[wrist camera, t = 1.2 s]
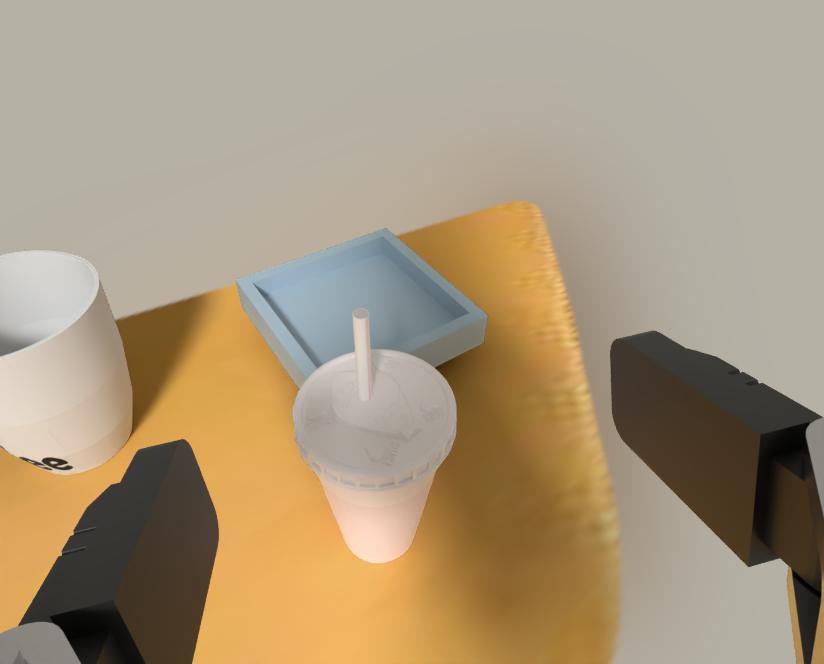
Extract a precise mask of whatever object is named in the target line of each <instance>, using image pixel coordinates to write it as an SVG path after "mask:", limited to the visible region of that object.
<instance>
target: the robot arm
mask: <svg viewBox="0 0 824 664" xmlns="http://www.w3.org/2000/svg"><path fill="white" fill-rule="evenodd" d="M610 359H611V391H612V392H611V394H612V415H613V419H614V423H615V426H616V429H617V431H618V433H619V435H620V437H621V438H622V440H623V441H624V442H625V443H626V444H627V445H628V446H629V447H630V448H631V449H632V450H633V451H634V452H635V453H636V454H637V455H638V456H639V457H640V458H641V459H642V460H643V461H644V462H645V463H646V464H647V465H648V466H649V467H650V468H651V470H652V471H653V472H655V473H656V475H658V477H659V478H661V480H662V481H663V482H664V483H665V484H666V485H667V486H668V487H669V488H670V489H671V490H673V492H674V493H676V495H677V496H678V497H679V498H680V499H681V500H682V501H683V502H684V503H685V504H686V505H688V507H689V508H690V509H691V510H692V511H693V512H694V513H695V514H696V515H697V516H698V517H699V518H700V519H701V520H702V521H703V522H704V523H705V524H706V525H707V526H708V527H709V528H710V529H711V530H712V531H713V532H714V533H715V534H716V535H717V536H718V537H719V538H720V539H721V540H722V541H723V542H724V543H725V544H726V545H727V546H728V547H729V548H730V549H731V550H732V551H733V552H734V553H735V554H736V555H737V556H738V557H739V558H740V559H741V560H742V561H743V562H744V563H745V564H746V565H747V566H748V567H751V566H754V565H757V564H761V563H765V562H768V561H772V560H775V559H779V558H781V559H782V560H783V561H784V562H785V563H786V564H787V565H788V566H789V567H788V575H787V591H788V599H789V607H790V615H791V623H792V632H793V640H794V648H795V655H796V664H824V417H822V416H820V415H818V414H816V413H815V412H813V411H811V410H809V409H808V408H806V407H804V406H802V405H801V404H798V403H797V402H795V401H794V400H792V399H790V398H788V397H786V396H785V395H783V394H781V393H779V392H778V391H776V390H774V389H772V388H771V387H769V386H767V385H765V384H763V383H760V384H759V383H758V380H756V379H755V378H753V377H751V376H750V375H748V374H746V373H744V372H741V373H740V372H739V369H737V368H735V367H734V366H732V365H730V364H728V363H727V362H725V361H723V360H721V359H720V358H718V357H715V356H712V355H709V354H704V353H701V352H698V351H695V350H691V349H686V348H684V347H683V346H681V345H679V344H678V343H676V342H674V341H672V340H671V339H669V338H668V337H666V336H664V335H663V334H661V333H659V332H657V331H649V332H645V333H640V334H636V335H632V336H627V337H623V338H619V339H616V340H615V341H613V343H612V345H611V350H610ZM73 532H74V535H72V536H70V538H69V539H68V541H67V543H66V544H65V546H64V548H63V550H62V556H59V557H58V558H57V560H56V562H55V563H54V565H53V567H52V568H51V570H50V572H49V574H48V575H47V577H46V579H45V581H44V582H43V584H42V586H41V587H40V589H39V591H38V593H37V594H36V596H35V598H34V599H33V601H32V603H31V605H30V606H29V608H28V610H27V611H26V613H25V615H24V617H23V618H22V620H21V622H20V623H19V625H18V626H17V627H15V628H12V629H10V630H7V631H5V632H3V633H1V634H0V664H192V661H193V657H194V652H195V648H196V643H197V639H198V634H199V629H200V625H201V620H202V616H203V611H204V607H205V602H206V597H207V593H208V588H209V584H210V579H211V575H212V570H213V565H214V561H215V556H216V552H217V547H218V540H219V528H218V520H217V515H216V511H215V508H214V505H213V503H212V500H211V497H210V495H209V492H208V489H207V487H206V484H205V482H204V479H203V476H202V474H201V471H200V468H199V466H198V463H197V461H196V458H195V455H194V453H193V450H192V448H191V446H190V445H189V443H188V442H187V441H186V440H184V439H181V440H177V441H173V442H168V443H164V444H160V445H156V446H151V447H147V448H143V449H139V450H138V451H137V452H136V454H135V456H134V458H133V460H132V461H131V463H130V465H129V467H128V469H127V471H126V473H125V475H124V476H123V478H122V480H121V482H120V483H116V484H112V485H110V486H109V487H108V488H107V489H106V490H105V491H104V492H103V493H102V494H101V495H100V496H99V497H98V498H97V499H96V500H94V501H93V502H92V503H91V504H90V505H89V506H88V507H87V508H86V510H85V512H84V514H83V515H82V517H81V519H80V520H79V522H78V524H77V526H76V527H75V529H74V531H73Z"/></svg>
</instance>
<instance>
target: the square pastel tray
mask: <svg viewBox="0 0 824 664" xmlns="http://www.w3.org/2000/svg"><path fill="white" fill-rule="evenodd" d="M236 284H237V288H238V292H239V296H240V300H241V304H242V308H243V310H244V311H245V312H246V314H247V315H248V317H249V318H250V320H251V321H252V322H253V324H254V325H255V327H256V328H257V330H258V331H259V332H260V334H261V335H262V337H263V338H264V340H265V341H266V343H267V344H268V345H269V347H270V348H271V350H272V351H273V353H274V354H275V355H276V357H277V358H278V360H279V361H280V363H281V364H282V365H283V367H284V368H285V370H286V371H287V373H288V374H289V375H290V377H291V378H292V380H293V381H294V383H295V384H296V386H297V387H298V388H299V390H300V388H301V386H302V385H303V383H304V382H305V381H306V379H307V378H308V377H309V376H310V375H311V374H312V373H313V372H314V371H315V370H317V369H318V368H319V367H320V366H322V365H323V364H325V363H327V362H328V361H330V360H332V359H334V358H336V357H339V356H341V355H344V354H347V353H351V352H355V345H354V330H353V315H352V313H353V311H354V310H356V309H359V308H363V309H366V310H368V312H369V325H370V349H388V350H395V351H400V352H404V353H407V354H410V355H413V356H415V357H417V358H420V359H422V360H423V361H425V362H427V363H428V364H430V365H431V366H433V367H434V368H435V367H437V366H439V365H441V364H443V363H445V362H447V361H449V360H451V359H453V358H455V357H457V356H459V355H461V354H463V353H465V352H467V351H469V350H471V349H473V348H475V347H477V346H479V345H481V344H483V343H484V337H485V331H486V325H487V318H488V315H487V314H486V313H485V312H484V311H482V310H481V309H480V308H479V307H478V306H477V305H475V304H474V303H473V302H472V301H471V300H470V299H468V298H467V297H466V296H465V295H464V294H463V293H461V292H460V291H459V290H458V289H457V288H456V287H454V286H453V285H452V284H451V283H450V282H449V281H447V280H446V279H445V278H444V277H443V276H442V275H440V274H439V273H438V272H437V271H436V270H435V269H433V268H432V267H431V266H430V265H429V264H428V263H426V262H425V261H424V260H423V259H422V258H421V257H419V256H418V255H417V254H416V253H415V252H414V251H412V250H411V249H410V248H409V247H408V246H407V245H405V244H404V243H403V242H402V241H401V240H400V239H398V238H397V237H396V236H395V235H394V234H392V233H391V232H390V231H389V230H388V229H387V228H385V229H382V230H380V231H377V232H374V233H371V234H368V235H365V236H362V237H360V238H356V239H354V240H351V241H348V242H345V243H342V244H339V245H336V246H333V247H330V248H327V249H325V250H322V251H319V252H316V253H313V254H310V255H308V256H304V257H302V258H299V259H296V260H293V261H290V262H287V263H284V264H281V265H278V266H275V267H273V268H270V269H267V270H264V271H261V272H258V273H255V274H253V275H249V276H247V277H244V278H241V279H238V280H236Z"/></svg>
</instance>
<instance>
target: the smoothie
mask: <svg viewBox="0 0 824 664" xmlns="http://www.w3.org/2000/svg"><path fill="white" fill-rule="evenodd" d="M352 315H353V330H354V345H355V352H351V353H347V354H344V355H341V356H339V357H336V358H334V359H332V360H330V361H328V362H327V363H325V364H323V365H322V366H320V367H319V368H318V369H317V370H315V371H314V372H313V373H312V374H311V375H310V376H309V377H308V378H307V379H306V381H305V382H304V383H303V385H302V386H301V388H300V390H299V392H298V394H297V396H296V399H295V402H294V407H293V424H294V434H295V442H296V444H297V447H298V449H299V452H300V454H301V457H302V458H303V459H304V460H305V462H306V463H307V464H308V465H309V466H310V468H311V469H312V470H313V471H314V472H315V473H316V474H317V475H318V477H319V480H320V482H321V485H322V487H323V490H324V492H325V494H326V497H327V499H328V502H329V504H330V506H331V509H332V511H333V514H334V516H335V519H336V521H337V523H338V526H339V528H340V531H341V533H342V535H343V538H344V540H345V543H346V545H347V546H348V548H349V549H350V551H351V552H352V553H353V554H354V555H355V556H357V557H358V558H360V559H362V560H364V561H367V562H371V563H385V562H389V561H392V560H395V559H397V558H398V557H400V556H401V555H403V554H404V553H405V552H406V551H407V550H408V549H409V547H410V546H411V544H412V542H413V540H414V537H415V534H416V531H417V528H418V525H419V522H420V519H421V516H422V513H423V509H424V506H425V503H426V500H427V497H428V494H429V491H430V488H431V485H432V482H433V479H434V476H435V473H436V470H437V468H438V467H439V466H440V465H441V463H442V462H443V461H444V459H445V458H446V457H447V455H448V454H449V453H450V451H451V448H452V445H453V442H454V439H455V437H456V422H457V417H456V416H457V408H456V401H455V397H454V394H453V391H452V389H451V387H450V385H449V384H448V382H447V381H446V379H445V378H444V377H443V376H442V375H441V374H440V372H439V371H437V370H436V369H435V368H434V367H433V366H431V365H430V364H428V363H427V362H425V361H423V360H422V359H420V358H417V357H415V356H413V355H410V354H407V353H404V352H400V351H395V350H388V349H370V325H369V312H368V310H366V309H363V308H359V309H356V310H354V311H353V313H352Z"/></svg>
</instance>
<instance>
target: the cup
mask: <svg viewBox="0 0 824 664" xmlns="http://www.w3.org/2000/svg"><path fill="white" fill-rule="evenodd" d="M131 431H132V386H131V381H130V376H129V371H128V367H127V362H126V357H125V352H124V347H123V343H122V339H121V336H120V333H119V330H118V328H117V325H116V322H115V320H114V317H113V314H112V311H111V309H110V306H109V303H108V301H107V298H106V295H105V293H104V290H103V287H102V284H101V282H100V279H99V276H98V273H97V271H96V269H95V268H94V267H93V266H92V265H91V264H90V263H89V262H88V261H87V260H85V259H83V258H81V257H79V256H77V255H74V254H70V253H67V252H62V251H53V250H28V251H19V252H12V253H6V254H1V255H0V447H2V448H3V449H5V450H6V451H7V452H9V453H10V454H12V455H14V456H16V457H18V458H20V459H23V460H25V461H27V462H29V463H31V464H33V465H35V466H38V467H40V468H42V469H44V470H46V471H48V472H51V473H55V474H61V475H69V474H77V473H81V472H85V471H88V470H91V469H93V468H96V467H98V466H100V465H101V464H103V463H105V462H106V461H108V460H109V459H111V458H112V457H113V456H115V455H116V454H117V453H118V452H119V451H120V450H121V449H122V448H123V446H124V445H125V444H126V442H127V440H128V439H129V437H130V434H131Z"/></svg>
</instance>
